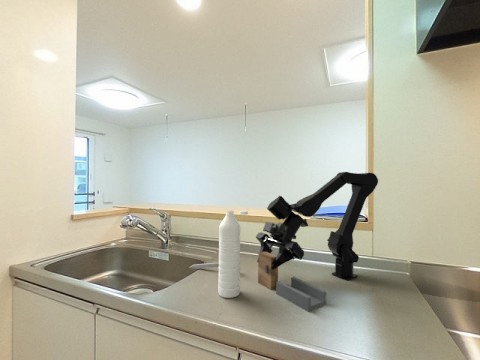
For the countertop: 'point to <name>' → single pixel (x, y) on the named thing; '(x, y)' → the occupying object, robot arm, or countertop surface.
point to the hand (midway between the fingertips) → (264, 265)
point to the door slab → (267, 270)
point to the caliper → (204, 265)
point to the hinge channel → (302, 294)
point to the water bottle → (229, 256)
